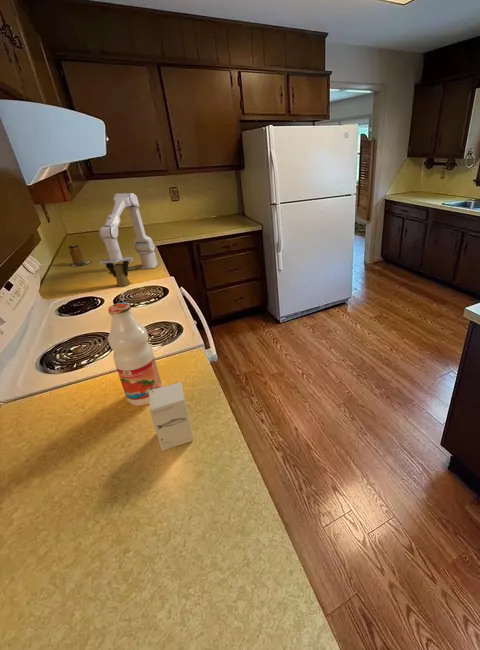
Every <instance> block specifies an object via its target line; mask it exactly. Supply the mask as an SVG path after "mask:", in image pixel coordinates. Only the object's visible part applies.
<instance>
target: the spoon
mask: <svg viewBox="0 0 480 650" xmlns="http://www.w3.org/2000/svg"><path fill="white" fill-rule="evenodd" d="M138 269H139V268H138V267H128V272H129V271H136V270H138ZM124 271H125V270H124ZM109 272H110V273H111V271H110V270H109Z"/></svg>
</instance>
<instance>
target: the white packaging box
mask: <svg viewBox="0 0 480 650" xmlns="http://www.w3.org/2000/svg"><path fill="white" fill-rule="evenodd" d="M148 405H149V412H150V416H151V419H152V424H153V426H154V430H155V433H156V437H157V441H158V443H159V447H160V451H161V452H164V451H166V450H169V449H172V448H174V447H175V448H176V447H179V446H180V445H183V444H187V443H190V442H194V436H193V431H192V426H191V425H192V424H191V421H190V416H189V411H188V406H187V402H186V397H185V393H184V388H183V383H182V381H179V382H176V383H175V382H174V383H172V384H169V385H163V386H162V387H160V388H157V389H153V390H149V404H148Z"/></svg>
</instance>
